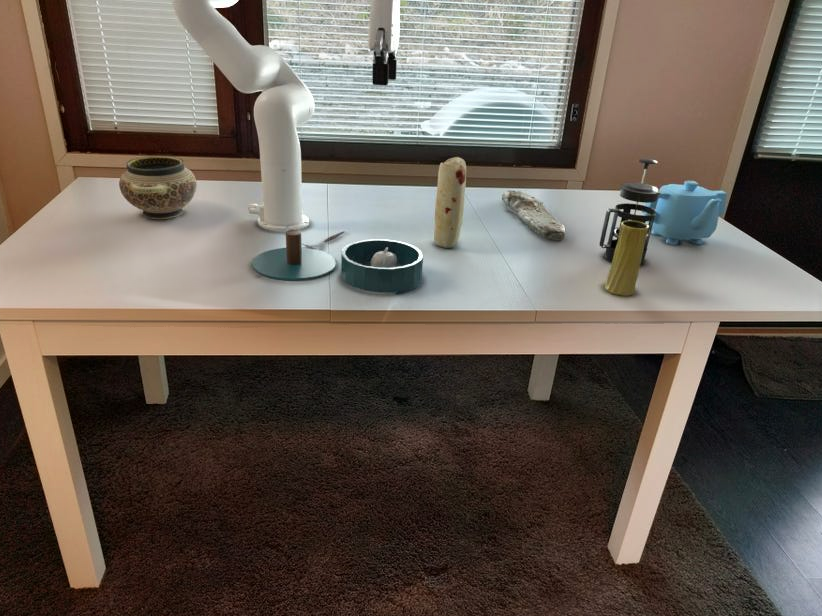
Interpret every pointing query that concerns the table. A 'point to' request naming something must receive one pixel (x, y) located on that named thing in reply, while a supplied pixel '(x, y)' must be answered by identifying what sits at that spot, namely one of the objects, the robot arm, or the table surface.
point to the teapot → (686, 212)
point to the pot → (381, 277)
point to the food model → (449, 202)
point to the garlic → (384, 259)
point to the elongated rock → (534, 214)
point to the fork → (326, 239)
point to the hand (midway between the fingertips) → (384, 82)
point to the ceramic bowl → (158, 185)
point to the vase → (627, 258)
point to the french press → (632, 193)
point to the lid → (294, 261)
